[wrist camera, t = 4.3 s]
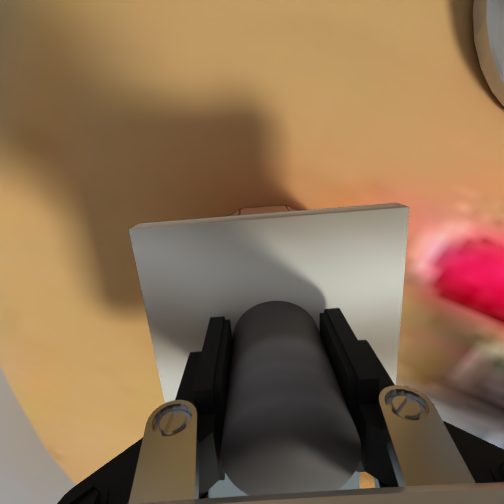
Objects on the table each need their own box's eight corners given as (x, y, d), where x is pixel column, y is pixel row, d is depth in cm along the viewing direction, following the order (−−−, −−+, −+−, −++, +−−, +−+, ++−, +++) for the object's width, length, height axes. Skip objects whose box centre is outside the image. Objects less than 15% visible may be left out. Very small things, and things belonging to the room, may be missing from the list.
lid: (138, 223, 12) (34, 287, 6) (396, 202, 12) (535, 249, 6) (177, 423, 15) (132, 588, 9) (383, 409, 15) (466, 570, 9)
